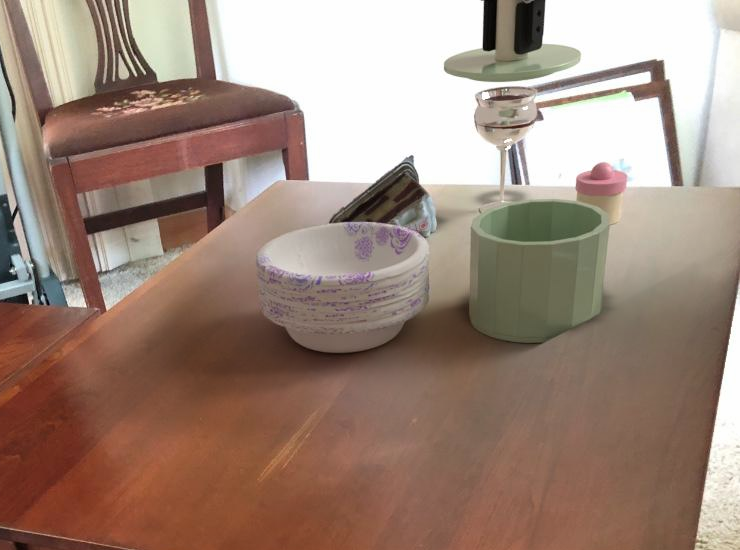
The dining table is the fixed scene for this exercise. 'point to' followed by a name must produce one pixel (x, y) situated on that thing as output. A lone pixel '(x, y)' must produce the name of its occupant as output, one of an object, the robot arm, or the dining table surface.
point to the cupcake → (603, 189)
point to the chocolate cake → (393, 202)
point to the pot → (536, 268)
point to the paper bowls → (344, 283)
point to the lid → (510, 55)
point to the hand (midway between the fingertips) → (512, 47)
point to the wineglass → (504, 122)
